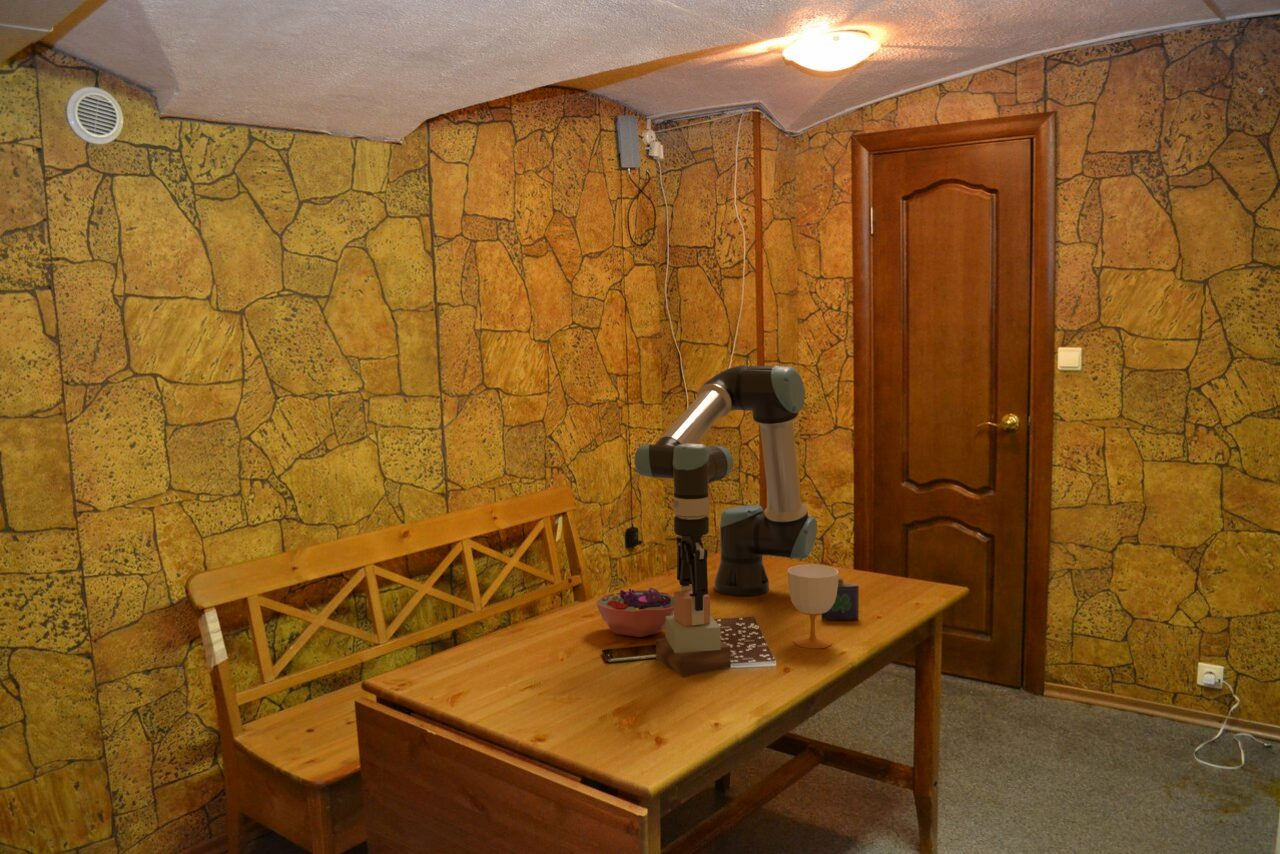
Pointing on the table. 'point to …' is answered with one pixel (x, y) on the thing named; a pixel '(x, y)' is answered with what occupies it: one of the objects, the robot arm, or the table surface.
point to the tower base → (692, 659)
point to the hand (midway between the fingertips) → (692, 619)
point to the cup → (813, 597)
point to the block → (688, 608)
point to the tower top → (693, 636)
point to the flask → (844, 603)
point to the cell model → (636, 611)
